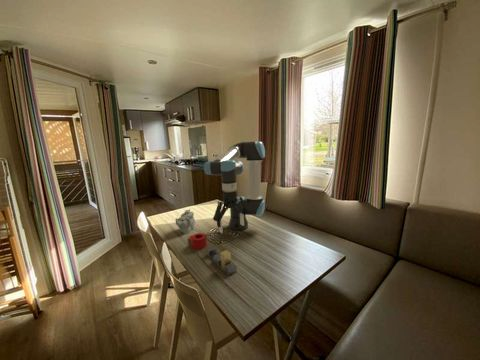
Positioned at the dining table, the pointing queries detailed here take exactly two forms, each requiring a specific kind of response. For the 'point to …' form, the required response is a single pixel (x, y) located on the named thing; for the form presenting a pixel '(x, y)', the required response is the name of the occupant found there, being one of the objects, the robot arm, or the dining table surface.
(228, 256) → the nut block
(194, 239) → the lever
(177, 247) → the dining table surface
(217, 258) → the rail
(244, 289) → the dining table surface
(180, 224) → the grey lumpy piece
